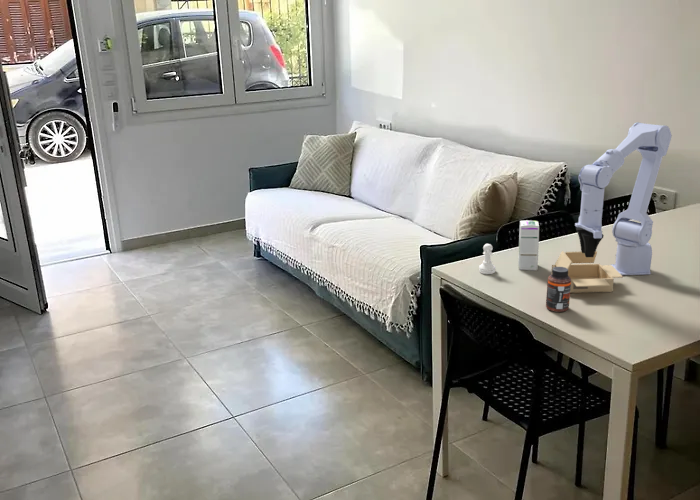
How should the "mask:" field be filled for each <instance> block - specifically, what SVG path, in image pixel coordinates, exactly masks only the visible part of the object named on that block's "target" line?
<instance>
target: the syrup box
mask: <svg viewBox="0 0 700 500" xmlns="http://www.w3.org/2000/svg"><path fill="white" fill-rule="evenodd" d="M539 224H540V223H539V221H538V220H532V219H530V220H528V219H526V220H519V230H518V231H519V232H518V233H519V235H518V237H519V238H518V258H517V259H518V260H517V262H518V263H517V264H518V265H517V266H518V270H520V271H538V266H539V265H538V263H539V245H540V244H539V243H540V225H539Z"/></svg>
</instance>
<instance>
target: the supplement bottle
mask: <svg viewBox="0 0 700 500" xmlns="http://www.w3.org/2000/svg"><path fill="white" fill-rule="evenodd" d="M551 271H552V274H550V275H548V276H547V286H546V297H545V298H546V301H545V307H546V309H547V310H548V311H551V312H555V313H563V312H566V311H568V310H569V307H570V298H571V293H570V289H571V278H570V277H569V276H568V269H567V268H565V267H554V268H553V269H552V268H551Z"/></svg>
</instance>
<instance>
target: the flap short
mask: <svg viewBox="0 0 700 500" xmlns="http://www.w3.org/2000/svg"><path fill="white" fill-rule="evenodd" d="M564 253H565V254H566V255H567V256H568V257H569V259H570V260H571V261H572V264H595V260H596V256H597V254H598V251H597V250H596V252H595V254H594V257H585V253H582V251H581V250H580V251H564Z"/></svg>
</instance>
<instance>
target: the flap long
mask: <svg viewBox="0 0 700 500" xmlns="http://www.w3.org/2000/svg"><path fill="white" fill-rule="evenodd" d="M571 264H573V263H572V261H571V260H570V259H569V257H568V256H567V255H566V254H565V251H563V250H562V251H561V252H560V254H559V256H558V258H557V259H556V261H555V264H554V265H556V266H557V267H565V268H567V269H569V267H570V266H571Z"/></svg>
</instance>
